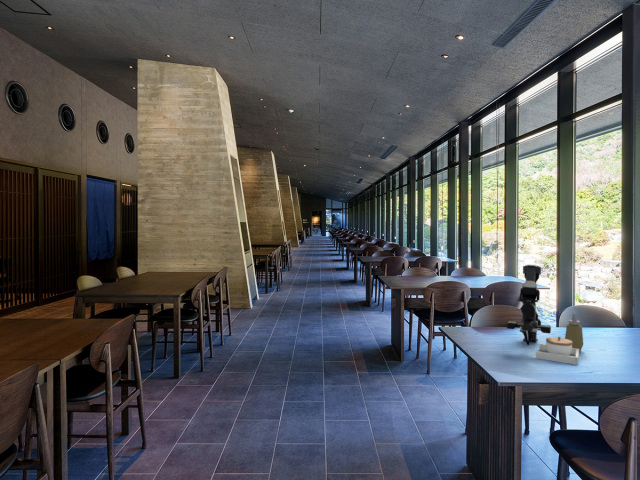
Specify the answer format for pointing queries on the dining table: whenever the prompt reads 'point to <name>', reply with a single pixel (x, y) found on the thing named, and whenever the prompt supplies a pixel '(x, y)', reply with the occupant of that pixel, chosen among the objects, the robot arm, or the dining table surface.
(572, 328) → the squeeze bottle
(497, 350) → the dining table surface
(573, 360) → the box
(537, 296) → the robot arm
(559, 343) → the lidded jar
